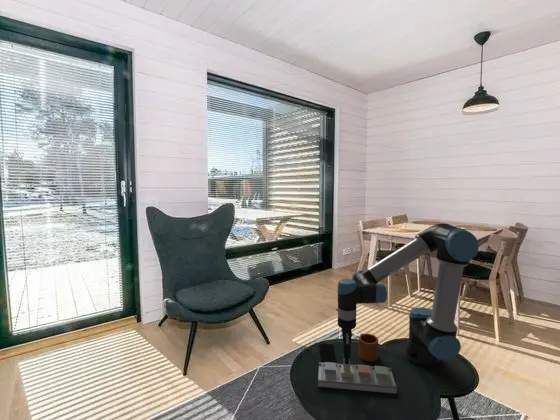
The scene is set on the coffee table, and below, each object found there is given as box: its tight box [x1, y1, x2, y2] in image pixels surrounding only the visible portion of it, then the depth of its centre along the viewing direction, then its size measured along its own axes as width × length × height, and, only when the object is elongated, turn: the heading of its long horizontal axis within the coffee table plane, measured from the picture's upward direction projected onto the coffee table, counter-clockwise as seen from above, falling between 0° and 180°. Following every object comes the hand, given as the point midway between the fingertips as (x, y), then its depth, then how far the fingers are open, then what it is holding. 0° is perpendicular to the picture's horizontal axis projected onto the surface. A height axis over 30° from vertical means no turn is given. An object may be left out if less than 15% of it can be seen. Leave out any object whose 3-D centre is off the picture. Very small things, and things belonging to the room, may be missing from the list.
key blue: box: [324, 362, 337, 374], centre depth 131 cm, size 5×5×2 cm
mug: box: [358, 333, 379, 363], centre depth 146 cm, size 9×12×9 cm
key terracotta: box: [357, 364, 371, 377], centre depth 128 cm, size 5×5×2 cm
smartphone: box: [318, 343, 337, 364], centre depth 148 cm, size 7×1×15 cm
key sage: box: [374, 365, 388, 379], centre depth 127 cm, size 5×5×2 cm
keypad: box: [317, 361, 398, 394], centre depth 129 cm, size 31×12×3 cm, turn 80°
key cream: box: [341, 365, 353, 378], centre depth 130 cm, size 5×5×2 cm
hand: (346, 368), depth 129 cm, fingers closed
